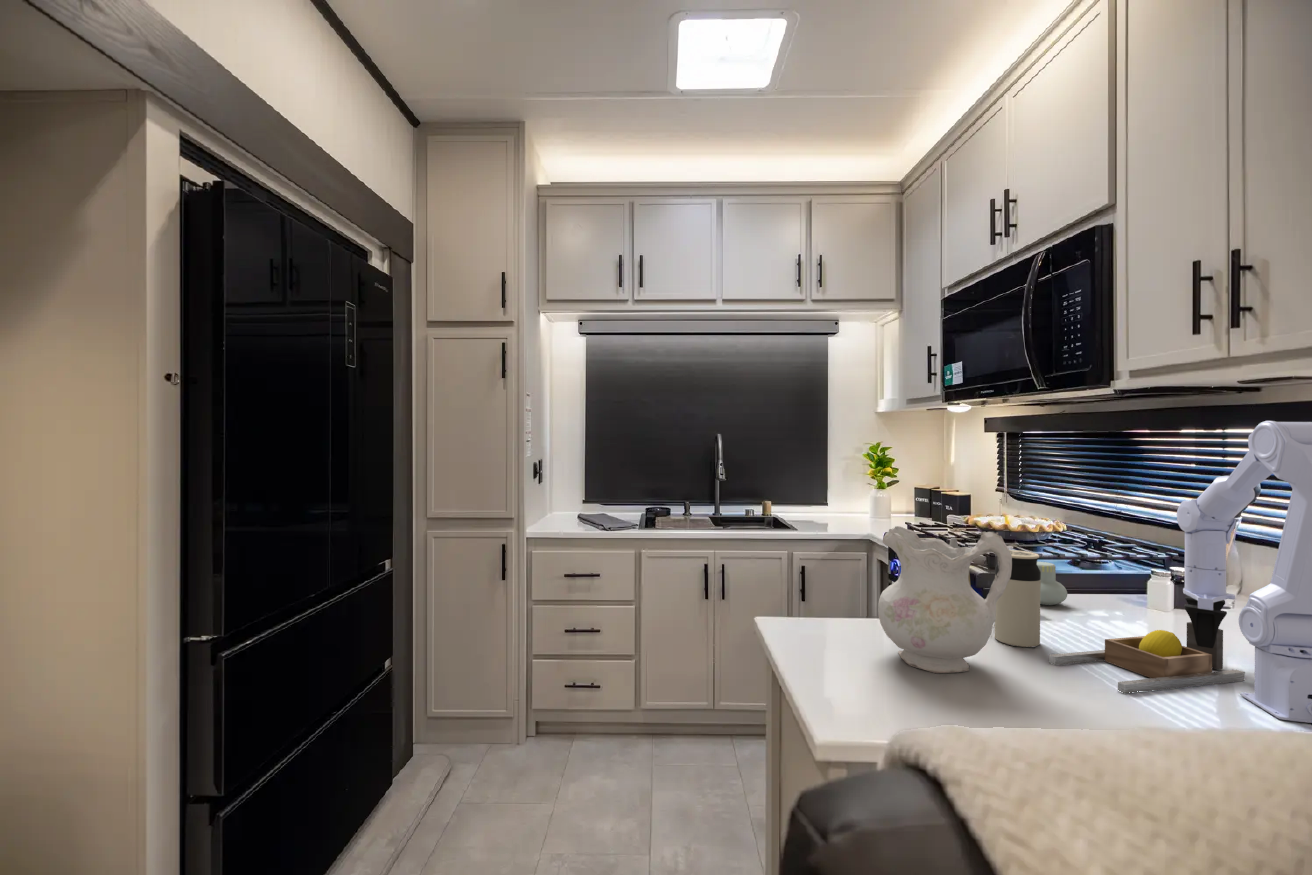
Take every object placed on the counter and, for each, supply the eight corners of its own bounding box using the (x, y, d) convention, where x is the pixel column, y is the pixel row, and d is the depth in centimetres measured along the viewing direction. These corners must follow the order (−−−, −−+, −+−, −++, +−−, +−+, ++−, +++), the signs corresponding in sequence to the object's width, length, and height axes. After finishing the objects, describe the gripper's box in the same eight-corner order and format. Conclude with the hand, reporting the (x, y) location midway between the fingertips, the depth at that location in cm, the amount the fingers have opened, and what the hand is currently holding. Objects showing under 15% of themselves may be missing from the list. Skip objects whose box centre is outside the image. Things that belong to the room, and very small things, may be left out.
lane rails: (1124, 694, 99) (1125, 684, 99) (1049, 662, 113) (1049, 654, 113) (1244, 680, 105) (1244, 672, 105) (1158, 652, 119) (1158, 645, 119)
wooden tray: (1164, 682, 103) (1164, 641, 103) (1104, 660, 114) (1104, 623, 114) (1242, 674, 108) (1243, 634, 108) (1178, 654, 118) (1178, 617, 118)
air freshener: (1072, 608, 151) (1073, 567, 151) (1039, 608, 151) (1040, 567, 151) (1042, 597, 162) (1043, 559, 162) (1012, 597, 162) (1012, 559, 162)
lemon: (1172, 677, 106) (1198, 645, 108) (1144, 652, 108) (1170, 620, 109) (1149, 676, 111) (1174, 645, 113) (1122, 652, 113) (1148, 622, 114)
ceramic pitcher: (993, 658, 118) (991, 527, 120) (1025, 689, 99) (1022, 534, 101) (874, 647, 124) (874, 523, 126) (883, 675, 105) (882, 528, 107)
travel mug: (1029, 650, 119) (1030, 558, 119) (987, 639, 126) (988, 551, 126) (1046, 643, 124) (1047, 554, 124) (1005, 633, 130) (1006, 548, 131)
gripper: (1237, 576, 105) (1236, 656, 104) (1233, 564, 115) (1233, 637, 115) (1182, 570, 109) (1182, 647, 109) (1183, 559, 120) (1183, 629, 120)
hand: (1204, 641), depth 112 cm, fingers open, 7 cm apart
